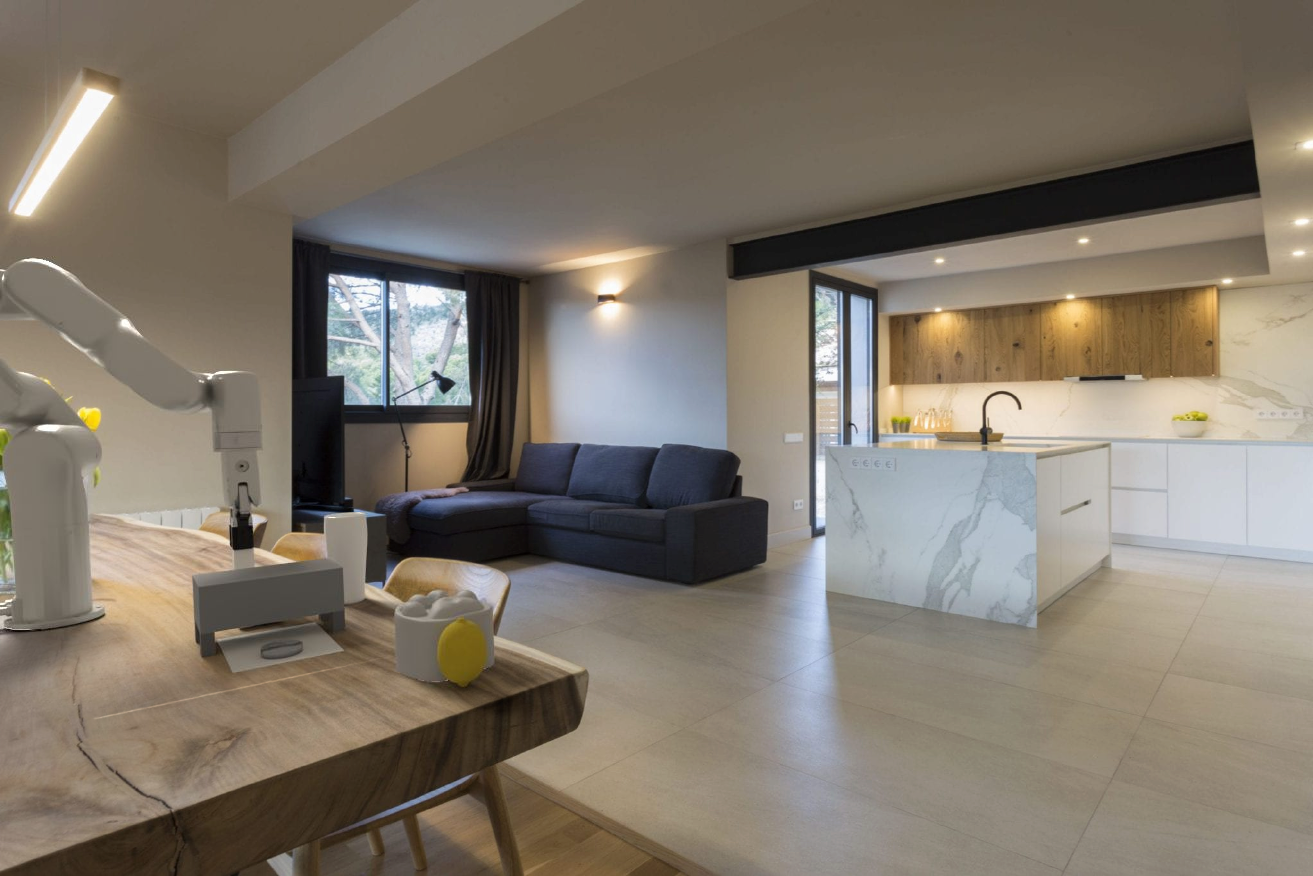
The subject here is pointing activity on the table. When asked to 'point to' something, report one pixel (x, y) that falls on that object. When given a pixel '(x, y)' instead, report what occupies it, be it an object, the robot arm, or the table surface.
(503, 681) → the table surface
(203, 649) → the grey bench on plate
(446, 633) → the lemon
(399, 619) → the lumpy-topped squat cylinder
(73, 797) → the table surface
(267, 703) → the table surface
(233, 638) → the mat
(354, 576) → the drinking glass
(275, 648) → the disc
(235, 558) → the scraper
